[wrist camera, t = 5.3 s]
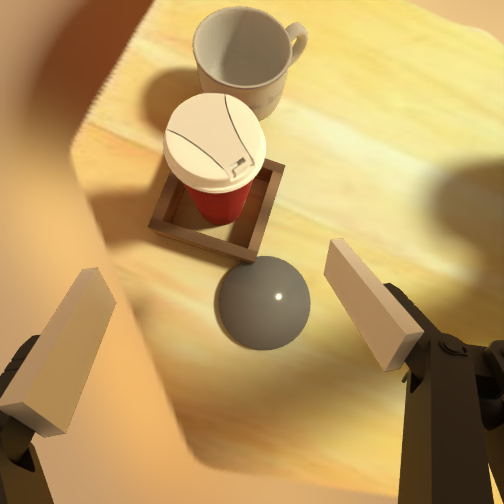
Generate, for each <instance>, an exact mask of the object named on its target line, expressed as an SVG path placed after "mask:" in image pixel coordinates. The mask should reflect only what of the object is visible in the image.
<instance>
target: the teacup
mask: <svg viewBox="0 0 504 504" xmlns="http://www.w3.org/2000/svg"><path fill="white" fill-rule="evenodd" d="M295 38H297V40H296V42H295V44H294V46H293V47H292V44H291V42H292V41H293V40H294V39H295ZM307 40H308V34H307V30H306V28H305V27H304V26H303V25H302V24H301V23H299V22H296V23H292V24H291V25H289V26H288V27H287V28H286V29H285V28H284V27H283V26H282V24H281V23H280V22H279V21H277V20H276V19H275V18H273V17H272V16H271V15H269V14H268V13H266V12H264V11H261V10H259V9H254V8H250V7H242V6H236V7H227V8H223V9H220V10H218V11H215V12H213V13H212V14H210V15H209V16H207V17H206V18H205V19H204V20H203V21H202V22H201V23H200V24H199V26H198V27H197V29H196V31H195V34H194V37H193V53H194V57H195V60H196V62H197V68H198V74H199V79H200V83H201V88H202V91H203V94H204V93H219V94H227V95H230V96H232V97H235V98H237V99H238V100H240V101H242V102H243V103H244V104H246V105H247V106H248V107H249V108H250V109H251V110H252V112H253V113H254V115H255V116H256V118H257V120H258V122H259V121H261V120H263V119H265V118H266V117H267V116H269V115H270V114H271V113H272V112H273V111H274V109H275V108H276V106H277V105H278V103H279V101H280V98H281V95H282V92H283V89H284V85H285V80H286V76H287V71H288V68H289V67H290V66H291V65H292V64H293V63H294V62H295V61H296V60H297V59H298V58H299V57H300V55H301V54H302V53H303V51H304V49H305V47H306V45H307Z"/></svg>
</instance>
